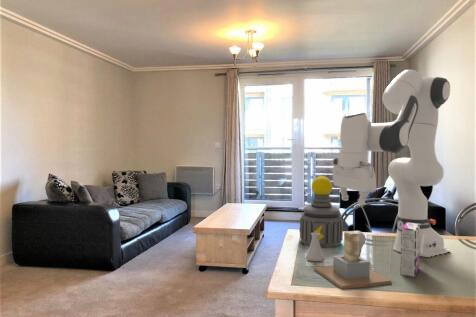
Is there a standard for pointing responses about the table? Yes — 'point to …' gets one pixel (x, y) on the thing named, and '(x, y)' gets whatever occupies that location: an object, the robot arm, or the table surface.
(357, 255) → the wooden block
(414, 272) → the candy bar box
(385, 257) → the table surface
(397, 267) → the table surface
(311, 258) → the flask
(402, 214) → the robot arm
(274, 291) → the table surface
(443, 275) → the table surface
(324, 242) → the decorative lamp
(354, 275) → the square peg socket base
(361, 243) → the lightbulb
